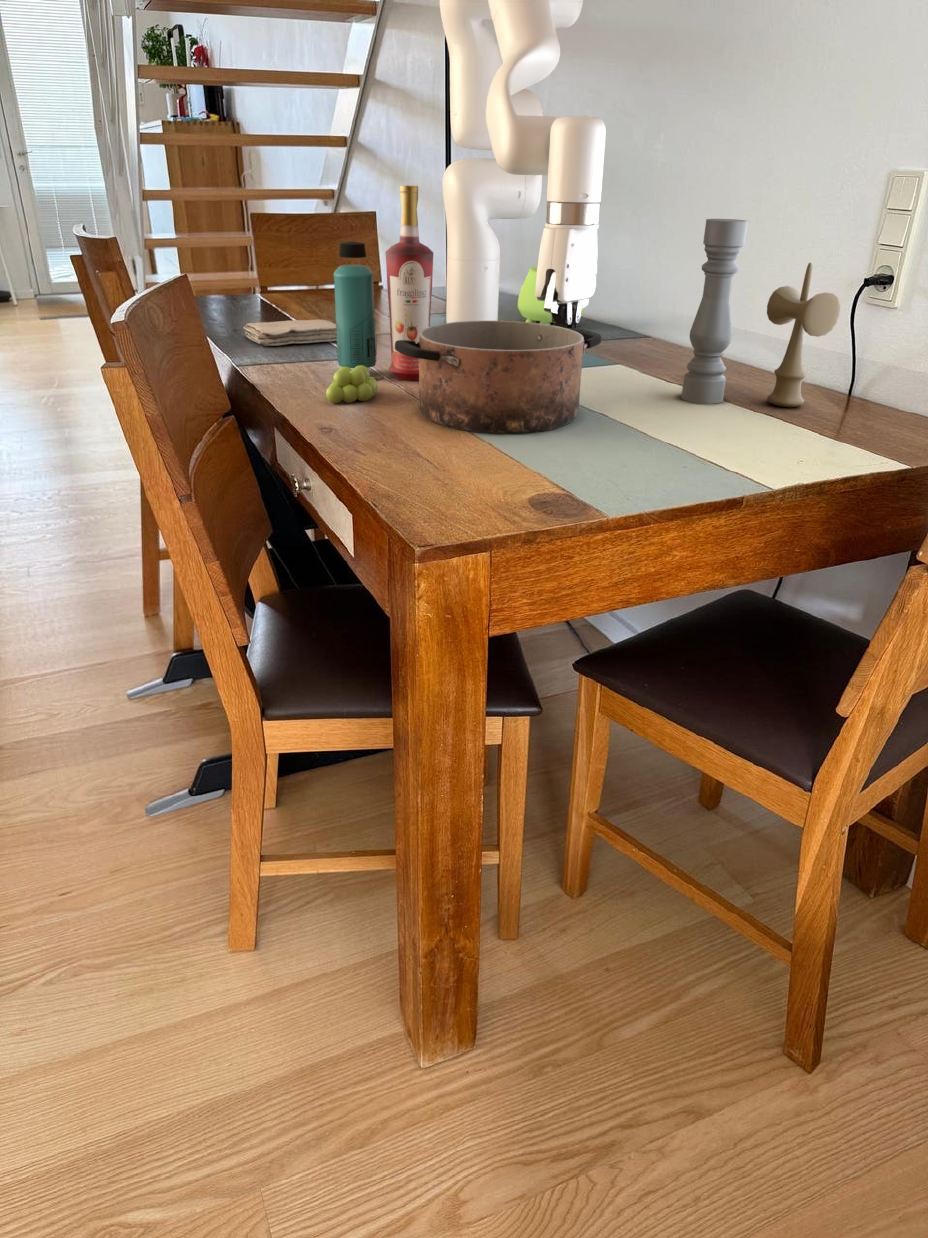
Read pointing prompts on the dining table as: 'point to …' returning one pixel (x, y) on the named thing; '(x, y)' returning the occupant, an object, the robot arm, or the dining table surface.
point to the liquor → (408, 286)
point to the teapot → (533, 301)
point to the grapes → (352, 385)
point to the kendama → (799, 333)
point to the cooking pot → (499, 374)
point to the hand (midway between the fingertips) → (563, 350)
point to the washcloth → (291, 332)
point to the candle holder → (714, 312)
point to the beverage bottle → (354, 310)
